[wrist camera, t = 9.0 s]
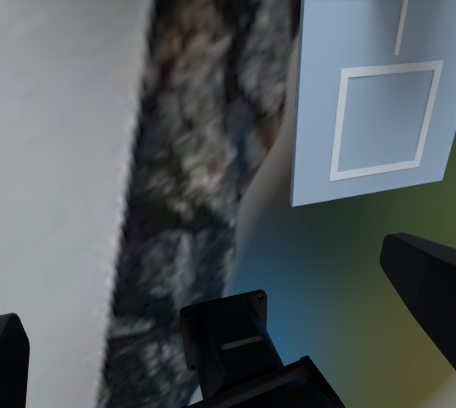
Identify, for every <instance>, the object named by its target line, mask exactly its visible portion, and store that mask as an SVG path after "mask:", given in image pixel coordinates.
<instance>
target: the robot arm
mask: <svg viewBox="0 0 456 408" xmlns="http://www.w3.org/2000/svg"><path fill="white" fill-rule="evenodd" d="M380 264H381V267H382V269H383V271H384V272H385V274H386V275H387V277H388V278H389V280H390V281H391V283H392V284H393V286H394V288H395V289H396V291H397V292H398V294H399V296H400V297H401V299H402V300H403V302H404V303H405V305H406V306H407V308H408V309H409V311H410V312H411V314H412V315H413V317H414V318H415V319H416V320H417V322H418V323H419V324H420V326H421V327H422V328H423V330H424V331H425V332H426V333H427V335H428V336H429V337H430V338H431V340H432V341H433V342H434V343H435V345H436V346H437V347H438V349H439V350H440V351H441V352H442V354H443V355H444V356H445V357H446V359H447V360H448V361H449V363H450V364H451V365H452V366H453V368H454V369H455V370H456V249H455V248H451V247H448V246H445V245H442V244H439V243H436V242H433V241H430V240H426V239H423V238H420V237H417V236H414V235H410V234H408V233H404V232H395V233H390V234H387V235H386V236H385V237H384V240H383V245H382V250H381V255H380ZM259 296H261V297H259ZM186 313H188V314H186ZM180 319H181V326H182V334H183V341H184V349H185V356H186V364H187V368H188V370H189V371H196V372H197V376H198V380H199V384H200V388H201V392H202V397H203V400H202V401H199V402H197V403H194V404H192V405H189V406H187V405H185V406H183V407H181V408H345V406H344V405H343V403H342V401H341V400H340V398H339V397H338V396H337V394H336V393H335V391H334V390H333V389H332V387H331V386H330V385H329V383H328V382H327V381H326V379H325V378H324V376H323V375H322V374H321V372H320V371H319V370H318V368H317V367H316V366H315V364H314V363H313V362H312V360H311V359H310V357H309V356H308V355H307V356H304V357H302V358H300V360H298V361H296V362H294V363H291V364H289V365H286V366H284V365H283V363H282V361H281V358H280V356H279V354H278V353H277V350H276V348H275V346H274V344H273V342H272V340H271V338H270V336H269V334H268V332H267V330H266V324H267V323H266V322H267V321H266V320H267V295H266V293H265V291H264V290H255V291H251V292H247V293H242V294H238V295H233V296H229V297H225V298H220V299H216V300H211V301H207V302H203V303H198V304H194V305H190V306H186V307H183V308H182V309H181V310H180ZM29 354H30V345H29V340H28V337H27V335H26V332H25V330H24V328H23V325H22V323H21V321H20V318H19V316H18V315H17V314H15V313H9V314H4V315H0V408H25V406H26V393H27V380H28V367H29Z"/></svg>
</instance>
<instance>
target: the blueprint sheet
mask: <svg viewBox="0 0 456 408" xmlns="http://www.w3.org/2000/svg"><path fill="white" fill-rule="evenodd" d="M455 131H456V0H301V11H300V29H299V48H298V66H297V85H296V104H295V122H294V141H293V159H292V178H291V195H290V205H291V206H293V207H294V206H300V205H305V204H310V203H317V202H322V201H328V200H334V199H339V198H345V197H350V196H356V195H362V194H367V193H373V192H378V191H384V190H390V189H395V188H401V187H407V186H413V185H418V184H424V183H429V182H434V181H441V180H442V179H443V175H444V171H445V168H446V164H447V160H448V156H449V153H450V149H451V146H452V142H453V138H454V134H455Z"/></svg>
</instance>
